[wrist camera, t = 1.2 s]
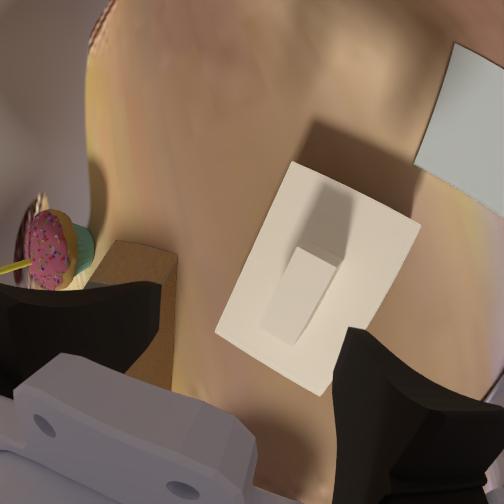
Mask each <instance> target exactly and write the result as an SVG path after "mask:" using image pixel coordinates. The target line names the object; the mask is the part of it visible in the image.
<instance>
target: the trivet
mask: <svg viewBox="0 0 504 504" xmlns="http://www.w3.org/2000/svg"><path fill="white" fill-rule="evenodd" d="M413 165H415V166H417V167H418V168H420V169H422V170H424V171H426V172H428V173H430V174H431V175H433V176H435V177H437V178H439V179H440V180H442V181H444V182H446V183H447V184H449V185H451V186H453V187H454V188H456V189H458V190H459V191H461V192H463V193H464V194H466V195H468V196H469V197H471V198H473V199H474V200H476V201H477V202H479V203H480V204H482V205H484V206H485V207H487V208H488V209H490V210H491V211H493V212H494V213H496V214H497V215H499V216H500V217H502V218H503V219H504V69H502V68H500V67H499V66H497V65H495V64H493V63H492V62H490V61H488V60H486V59H485V58H483V57H481V56H479V55H477V54H475V53H474V52H472V51H470V50H468V49H466V48H464V47H462V46H460V45H458V44H456V43H455V45H454V48H453V52H452V55H451V59H450V62H449V66H448V69H447V72H446V76H445V79H444V82H443V85H442V88H441V91H440V94H439V97H438V100H437V103H436V106H435V109H434V112H433V115H432V117H431V120H430V123H429V126H428V128H427V131H426V134H425V136H424V139H423V141H422V144H421V147H420V149H419V152H418V154H417V157H416V159H415V162H414V164H413Z"/></svg>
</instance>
